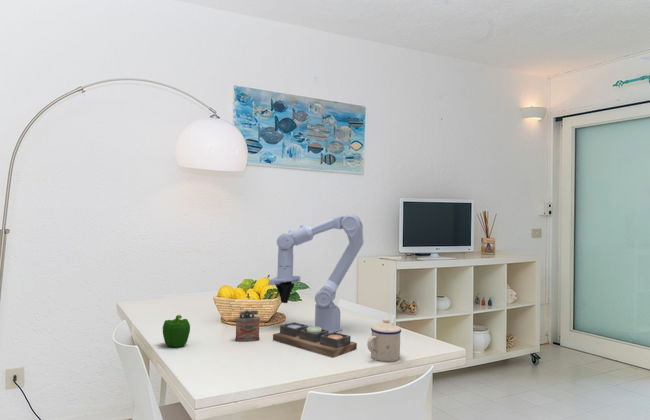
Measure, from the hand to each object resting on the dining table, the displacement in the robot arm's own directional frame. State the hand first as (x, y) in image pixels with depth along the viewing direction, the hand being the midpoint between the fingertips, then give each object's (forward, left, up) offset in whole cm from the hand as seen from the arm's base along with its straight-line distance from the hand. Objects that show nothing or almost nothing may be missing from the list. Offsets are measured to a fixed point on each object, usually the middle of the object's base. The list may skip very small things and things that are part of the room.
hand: (284, 302), depth 177 cm
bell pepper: (+40, -8, -10) cm, 42 cm away
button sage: (+8, +22, -6) cm, 24 cm away
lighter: (+20, +3, -10) cm, 22 cm away
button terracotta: (+8, +31, -7) cm, 33 cm away
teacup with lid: (+4, +46, -10) cm, 47 cm away
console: (+8, +22, -9) cm, 25 cm away
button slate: (+8, +13, -7) cm, 17 cm away
